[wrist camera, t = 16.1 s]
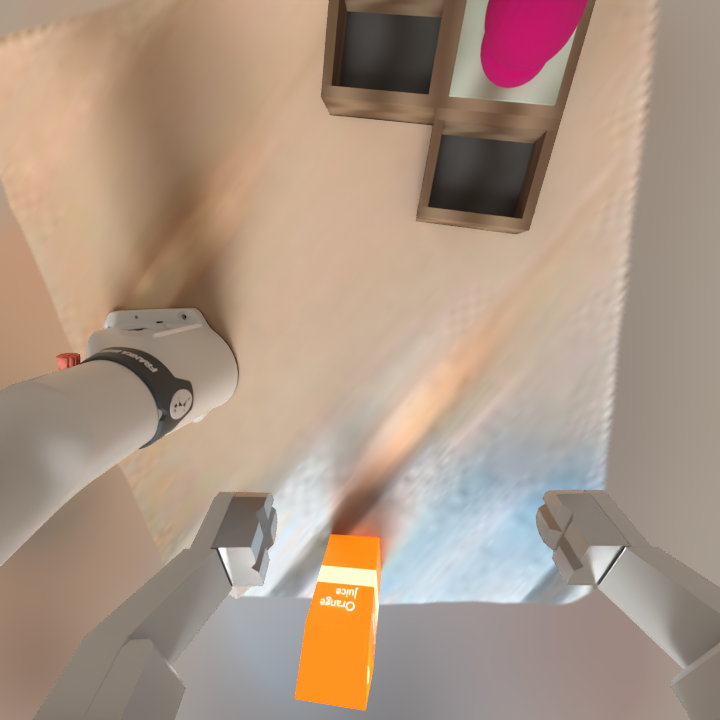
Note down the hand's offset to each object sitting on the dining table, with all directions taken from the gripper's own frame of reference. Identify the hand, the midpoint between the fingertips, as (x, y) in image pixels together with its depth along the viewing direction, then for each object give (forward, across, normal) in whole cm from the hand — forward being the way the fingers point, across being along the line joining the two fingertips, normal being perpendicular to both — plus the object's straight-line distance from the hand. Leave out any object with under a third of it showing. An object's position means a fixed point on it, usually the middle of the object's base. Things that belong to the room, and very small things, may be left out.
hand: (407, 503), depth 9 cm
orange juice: (+26, +2, +48) cm, 55 cm away
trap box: (+37, -7, -15) cm, 40 cm away
